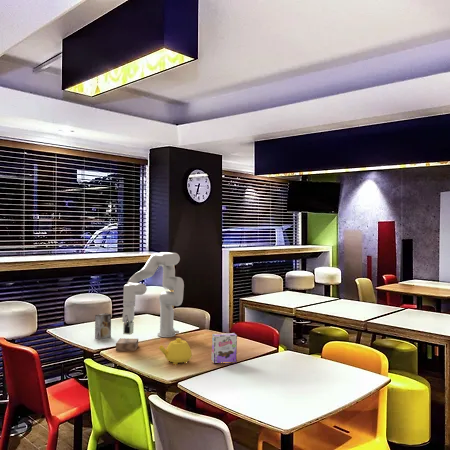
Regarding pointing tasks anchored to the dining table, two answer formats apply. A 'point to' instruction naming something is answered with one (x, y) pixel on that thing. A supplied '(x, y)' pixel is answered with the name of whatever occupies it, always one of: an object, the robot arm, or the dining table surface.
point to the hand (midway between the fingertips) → (128, 331)
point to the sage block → (130, 328)
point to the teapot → (177, 351)
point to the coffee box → (102, 325)
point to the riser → (126, 344)
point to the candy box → (224, 347)
